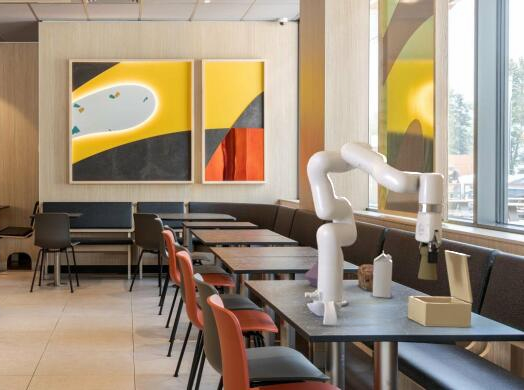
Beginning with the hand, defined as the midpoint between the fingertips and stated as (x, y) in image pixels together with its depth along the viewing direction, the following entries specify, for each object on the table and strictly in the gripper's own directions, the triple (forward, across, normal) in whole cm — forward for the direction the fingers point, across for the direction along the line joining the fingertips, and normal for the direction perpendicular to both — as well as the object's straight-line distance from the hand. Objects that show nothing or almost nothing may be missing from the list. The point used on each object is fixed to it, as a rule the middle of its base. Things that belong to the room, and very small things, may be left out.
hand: (428, 261), depth 214 cm
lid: (+5, -2, +11) cm, 13 cm away
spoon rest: (+22, -4, -33) cm, 40 cm away
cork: (+6, 0, 0) cm, 6 cm away
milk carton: (+22, -49, +5) cm, 54 cm away
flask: (+22, -72, -14) cm, 76 cm away
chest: (+21, -2, +5) cm, 22 cm away
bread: (+22, -68, +8) cm, 72 cm away
